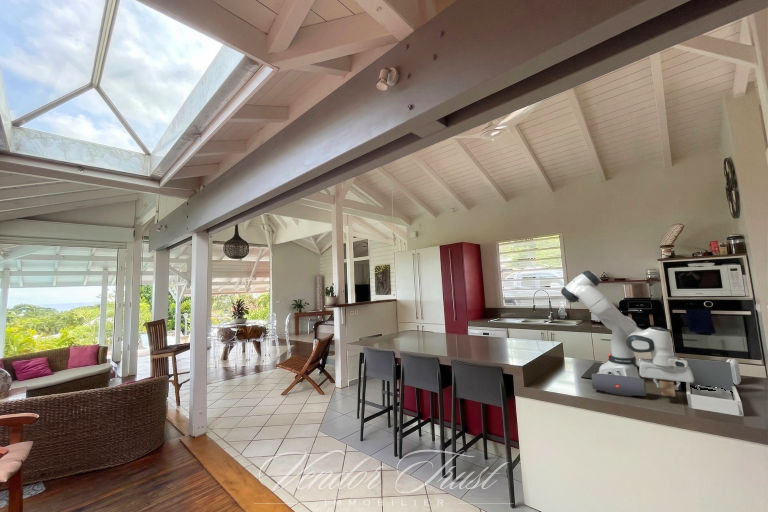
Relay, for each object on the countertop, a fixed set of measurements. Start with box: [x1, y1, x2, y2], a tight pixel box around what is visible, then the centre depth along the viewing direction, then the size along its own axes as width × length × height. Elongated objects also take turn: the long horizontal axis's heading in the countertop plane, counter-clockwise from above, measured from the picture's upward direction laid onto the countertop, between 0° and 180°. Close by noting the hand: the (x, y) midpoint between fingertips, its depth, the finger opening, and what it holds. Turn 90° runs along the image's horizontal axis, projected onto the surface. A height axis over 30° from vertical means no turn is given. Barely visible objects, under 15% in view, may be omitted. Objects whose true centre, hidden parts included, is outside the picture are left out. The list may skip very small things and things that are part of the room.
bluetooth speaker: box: [591, 372, 647, 397], centre depth 168 cm, size 23×9×10 cm, turn 50°
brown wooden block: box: [659, 379, 676, 397], centre depth 154 cm, size 5×7×6 cm
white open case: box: [682, 357, 735, 400], centre depth 156 cm, size 17×23×15 cm
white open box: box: [685, 382, 745, 417], centre depth 149 cm, size 17×22×6 cm
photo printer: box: [725, 358, 742, 386], centre depth 170 cm, size 10×4×12 cm, turn 123°
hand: (667, 388), depth 154 cm, fingers closed on brown wooden block, 5 cm apart
